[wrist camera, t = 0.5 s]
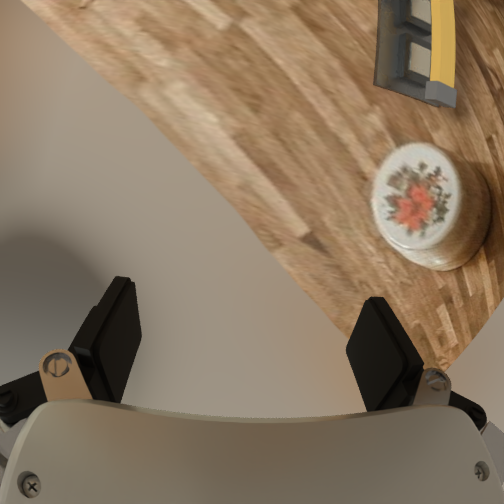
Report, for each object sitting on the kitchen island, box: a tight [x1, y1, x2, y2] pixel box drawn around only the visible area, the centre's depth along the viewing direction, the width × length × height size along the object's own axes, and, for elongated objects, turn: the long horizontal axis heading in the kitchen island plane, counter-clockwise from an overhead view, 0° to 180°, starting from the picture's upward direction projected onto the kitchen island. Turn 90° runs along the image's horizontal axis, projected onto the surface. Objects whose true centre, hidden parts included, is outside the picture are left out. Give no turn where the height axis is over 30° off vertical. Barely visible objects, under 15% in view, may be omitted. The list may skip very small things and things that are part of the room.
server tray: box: [373, 0, 439, 107], centre depth 25 cm, size 20×11×7 cm, turn 174°
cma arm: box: [425, 0, 457, 108], centre depth 20 cm, size 22×4×2 cm, turn 174°
